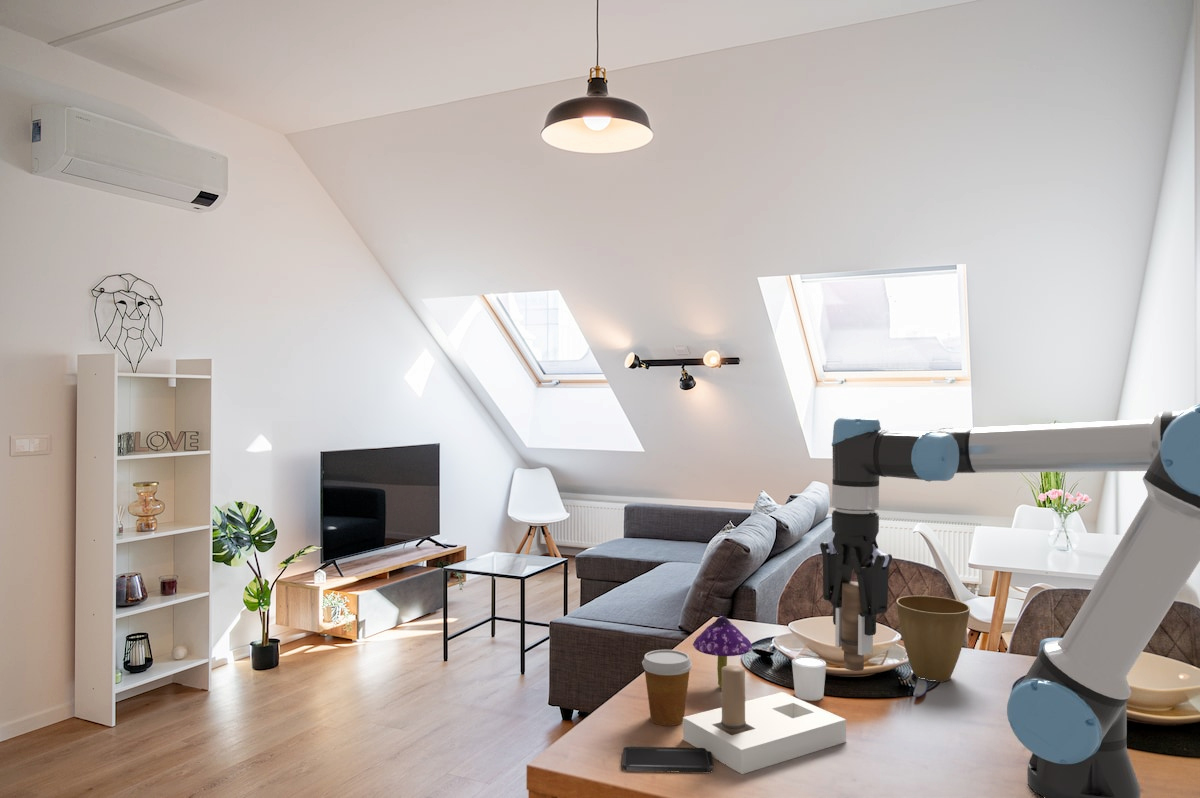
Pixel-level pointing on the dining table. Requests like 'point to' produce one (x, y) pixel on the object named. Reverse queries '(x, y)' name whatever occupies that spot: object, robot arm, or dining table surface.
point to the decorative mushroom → (722, 642)
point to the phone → (667, 759)
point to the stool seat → (761, 727)
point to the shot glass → (809, 677)
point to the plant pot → (932, 634)
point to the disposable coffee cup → (667, 685)
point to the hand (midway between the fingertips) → (853, 649)
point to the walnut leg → (851, 626)
